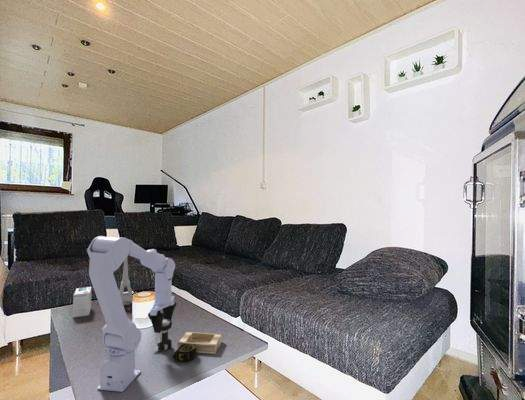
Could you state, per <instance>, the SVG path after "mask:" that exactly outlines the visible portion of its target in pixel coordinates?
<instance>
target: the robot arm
mask: <svg viewBox="0 0 525 400" xmlns="http://www.w3.org/2000/svg"><path fill="white" fill-rule="evenodd" d="M157 250H158V249H154V248H151V249H147V250H146V249H144V248H143V247H141V246H140V245H139V244H137V243H135V242H133V240H132V239H128V238H127V237H116V236H115V237H114V236H113V237H112V236H104V235H99V236H95V238H93V239H92V240H91V242H90V244H89V246H88V247H87V248H86V252H87V254H88V257H89V263H88V264H89V266H88V275H89V279H90V281H91V284H92V287H93V290H94V293H95V295H96V298H97V302H98V305H99V307H100V309H101V310H100V311H101V312H102V315H103V318H104V321H105V324H104V326H103V327H102V328H101V332H102V344H103V346H105V347H106V351H107V353H108V354H107V357H106V359H105V360H104V361H103V362H102V364H101V365H100V369H99V371H100V372H99V373H100V374H99V376H100V377H99V385H98V386H97V390H100V391H101V390H102V391H111V392H124V391H125V390H126V389H127V388H128V386H130V384H131V383H132V382H134V380H135V379H136V378H137V377H138V376H139V375H140V373H141V370H140V369H139V370H138V369H135V368H136V365H135V364H136V361H135V360H136V350H137V348H138V347H139V344H140V342H141V341H142V332H141V330H140V329H139V328H137V325H136V324H135V322H134V321H132V319H130V318H129V317H128V315H127V312H126V310H125V306H124V303H123V302H122V300H121V296H120V293H119V290H120V289H119V287H118V285H117V281H116V279H115V275H114V272H116V271H117V270H118V269H119V268H120V266H122V264H124V260H125V259H126V258H127V259H128V256H129V257H132V258H135V259H137V260H140V264H141V265H142V266H144V267H146V268H148V269H150V270H151V272H152V273H154V303H153V305H152V307H151V309H149V310H150V311H149V312H148V314H147V317H148V319H149V320H150V322H151V324H152V327H153V332H154V333H157V334H159V333H160V332H161V329H162V322H163V320H164V319H168V320H170V321H171V322H172V319H173V316H174V315H173V314H174V311H175V309H176V307H177V304H178V303H177V302H175V295H172V286H173V285H172V279H173V277H174V271H175V269H176V264H175V261H174V260H173V258H171V257H166V256H165V254H163V253H159V252H157ZM161 310H162V311H161Z"/></svg>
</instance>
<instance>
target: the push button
mask: <svg viewBox="0 0 525 400" xmlns="http://www.w3.org/2000/svg"><path fill="white" fill-rule="evenodd" d="M172 325H173V322H172V320H171V321H170V320H168V319H164V318H163V322H162V329H161V332H160V333H158V337H159V339H158V342H157V343H156V346H155V347H153V352H154V353H155V352H157V351H158V352H161V351H166V350H168V349H171V348H172V346H173V345H172V342H173V341H172V339H171V337H170V329H172Z"/></svg>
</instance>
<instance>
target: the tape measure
mask: <svg viewBox="0 0 525 400" xmlns="http://www.w3.org/2000/svg"><path fill="white" fill-rule="evenodd" d="M196 355H197V352H196V346H195V345H194V344H190V343H189V344H182V345H181V346H180V347H179V348H178V347H177V349H176V350H175V351H174V353H173V355H171V357H172V359H173V360H174V361H176V362H177V361H180V362H188V361H191V360H193V359H194V358H195V357H196Z"/></svg>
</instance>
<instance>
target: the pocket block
mask: <svg viewBox="0 0 525 400" xmlns="http://www.w3.org/2000/svg"><path fill="white" fill-rule="evenodd" d="M222 336H223V334H222V333H214V332H213V333H212V332H197V331H196V332H195V331H186V332H185V333H184V334H183V335H182V337H181V338H179V339H180V340H179V341H178V342H177V349H178V348H179V347H180V346H181V345H182V344H189V343H190V344H194V345H195V346H196V353H198V354H199V353H202V354H211V355H212V354H214V355H215V354H216V353H217V351H218V349H219V347H221V344H222V343H223V342H222V341H223V337H222Z"/></svg>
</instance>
